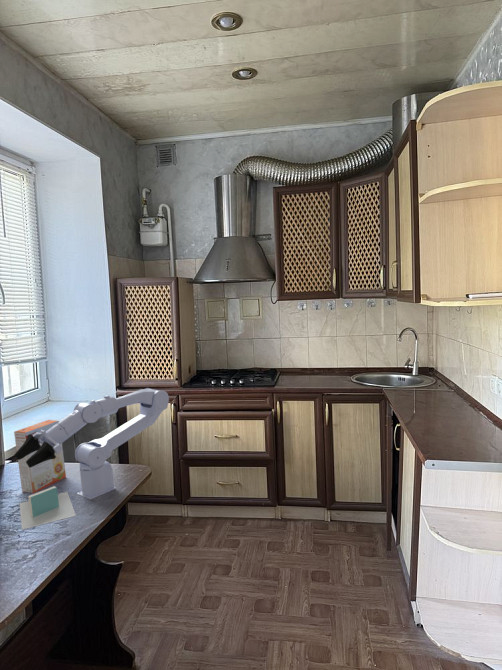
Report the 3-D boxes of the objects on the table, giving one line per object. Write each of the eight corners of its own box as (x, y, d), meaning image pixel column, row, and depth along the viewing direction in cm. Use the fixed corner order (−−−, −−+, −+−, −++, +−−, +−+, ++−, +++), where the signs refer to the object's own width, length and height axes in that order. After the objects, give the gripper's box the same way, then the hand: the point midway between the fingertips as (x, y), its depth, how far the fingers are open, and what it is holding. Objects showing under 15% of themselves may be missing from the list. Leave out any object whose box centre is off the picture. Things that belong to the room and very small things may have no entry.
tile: (56, 505, 145) (54, 486, 144) (59, 506, 144) (56, 487, 143) (30, 516, 139) (28, 496, 138) (33, 517, 138) (30, 497, 137)
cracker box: (54, 476, 171) (48, 419, 169) (66, 478, 168) (60, 420, 166) (20, 492, 158) (13, 430, 156) (33, 494, 155) (25, 431, 153)
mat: (19, 504, 148) (19, 503, 148) (67, 492, 155) (67, 491, 155) (22, 531, 131) (21, 529, 131) (75, 516, 137) (75, 515, 137)
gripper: (45, 415, 148) (4, 444, 140) (68, 426, 139) (26, 457, 131) (55, 432, 152) (16, 461, 143) (78, 444, 142) (38, 476, 134)
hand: (21, 461), depth 137 cm, fingers open, 7 cm apart
